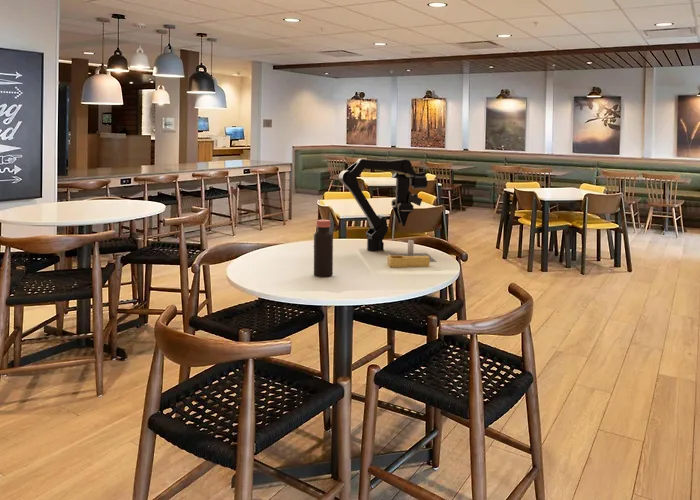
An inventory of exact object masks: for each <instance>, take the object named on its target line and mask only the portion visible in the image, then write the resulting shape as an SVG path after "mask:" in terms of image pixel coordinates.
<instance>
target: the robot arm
mask: <svg viewBox="0 0 700 500" xmlns="http://www.w3.org/2000/svg"><path fill="white" fill-rule="evenodd" d="M365 169H374V170H390V171H392V172H394V173H393V174H392V175H391V178H393V179H396V180H395V181H396V182H395V190H394V193H395V199H394V198H393V199H392V201H391V206H392V207H391V208H392V211H393V212H394V216H395V217H396V220H397V223H398V224H401V226H402V227H405V226H406V223H407V220H408V218H409V217H408V216H409V215H410V213H412V212H413V211H414V205H413V204H415V205H416V206H418V207H421V204H422V202H423V198H421V197H419V195H418V194H416V193H413V194H412V193H411V191H410V187H411V189H426V188H427V186H428V179H427V174H426V172H416V171H415V169H414V168H413V165H412V162H411V161H410V160H409V159H406V158H399V159H390V160H380V159H364V158H358V159H357V160H356V161H355V162H354V163H353V164H351V165H350V166H349V167H347V168H346V169H344V170H342V171H340V173H339V175H338V180H339V182H340V183H341V185H343V186H344V187H345V188H346V189H347V190H348V191H349V192H350V193H351V195H352V196H353V198H354V199H355V202H356V203H357V204H358V206H359V208H360V209H361V211H362V212H363V214H364V216H365V218H366V219H367V222H368V225H369V228H368V229H367V231H365V235H366V250H367V252H384V244H385V243H384V242H383V240H384V238H385V235H387V233H388V231H389V227H388V225H389V224H388V223H387V222H386V220H385V217H383V216H382V215H379V214H377V213H376V212H375V210H374V208H373V206H371V204H370V202H369V201H368V199H367V197H366V195H365V193H364V192H363V191H362V189H361V188H360V184H359V181H358V177H359V176H360V175H361V174H362V172H363V171H364V170H365ZM406 175H408V176H406Z"/></svg>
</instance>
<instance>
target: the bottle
mask: <svg viewBox="0 0 700 500" xmlns="http://www.w3.org/2000/svg"><path fill="white" fill-rule="evenodd" d="M316 228H317V230H316V232H315V233H313V275H314V276H315V277H316V278H317V277H318V278H329V277H332V276H333V275H334V273H333V271H334V269H333V268H334V263H333V262H334V261H333V259H334V256H333V255H334V254H333V253H334V244H333V243H334V235H333V234H334V233H332V232H331V230H330V229H331V220H330V219H317V220H316Z"/></svg>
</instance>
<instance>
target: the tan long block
mask: <svg viewBox="0 0 700 500" xmlns="http://www.w3.org/2000/svg"><path fill="white" fill-rule="evenodd" d="M386 258H387V259H386V261H387V263H386V264H387V266H388V267H389V268H408V267H430V263H431V262H430V258H429V257H428V256H404V255H390V254H389V255H387V257H386Z"/></svg>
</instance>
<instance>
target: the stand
mask: <svg viewBox="0 0 700 500" xmlns="http://www.w3.org/2000/svg"><path fill="white" fill-rule="evenodd" d="M414 242H415V240H414V239H412V240H411V239H408V240H407V253H406V252H405V253H404V252H403V253H399V252H398V253H397V252H396V253H395V252H394V253H392V252H391V253H389V255H404V256H428V257H429V258H430V263H437V262H438V261H437V260H436V259H434V258H433V257H432V256H431V255H429V254H428V253H427V252H417V253H416V252H414V249H415V248H414V247H415V246H414V244H415V243H414Z"/></svg>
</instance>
